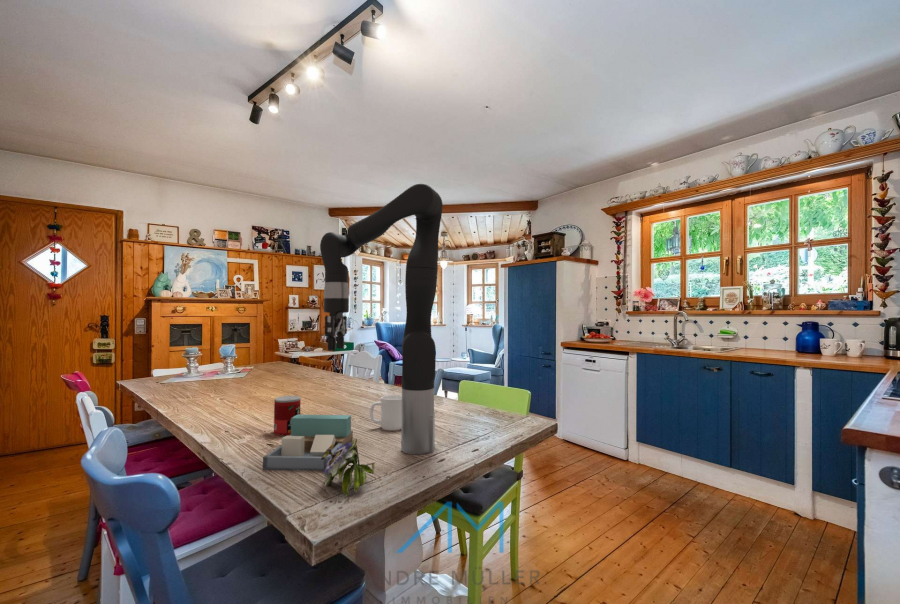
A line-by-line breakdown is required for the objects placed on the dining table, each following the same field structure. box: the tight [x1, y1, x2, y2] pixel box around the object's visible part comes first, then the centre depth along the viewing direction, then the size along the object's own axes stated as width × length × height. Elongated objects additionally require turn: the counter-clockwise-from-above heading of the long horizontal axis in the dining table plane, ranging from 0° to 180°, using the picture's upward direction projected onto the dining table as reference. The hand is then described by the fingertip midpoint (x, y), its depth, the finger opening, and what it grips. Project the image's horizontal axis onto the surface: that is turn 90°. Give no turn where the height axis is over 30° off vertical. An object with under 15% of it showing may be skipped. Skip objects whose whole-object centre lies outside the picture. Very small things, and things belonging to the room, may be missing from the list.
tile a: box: [310, 435, 336, 457], centre depth 101 cm, size 5×5×2 cm
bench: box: [304, 429, 354, 452], centre depth 109 cm, size 16×10×4 cm, turn 88°
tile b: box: [281, 435, 305, 456], centre depth 101 cm, size 5×5×2 cm
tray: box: [262, 443, 342, 472], centre depth 98 cm, size 16×11×3 cm
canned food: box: [273, 395, 302, 437], centre depth 123 cm, size 8×8×11 cm
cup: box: [369, 394, 402, 431], centre depth 129 cm, size 8×12×10 cm
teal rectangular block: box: [290, 414, 352, 437], centre depth 110 cm, size 16×4×5 cm, turn 88°
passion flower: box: [321, 438, 376, 497], centre depth 85 cm, size 11×11×12 cm
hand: (336, 349), depth 119 cm, fingers open, 8 cm apart
